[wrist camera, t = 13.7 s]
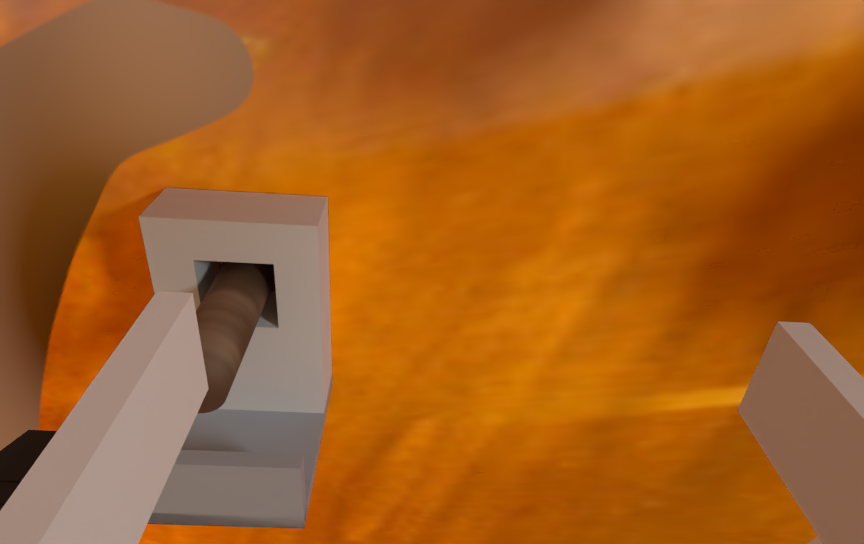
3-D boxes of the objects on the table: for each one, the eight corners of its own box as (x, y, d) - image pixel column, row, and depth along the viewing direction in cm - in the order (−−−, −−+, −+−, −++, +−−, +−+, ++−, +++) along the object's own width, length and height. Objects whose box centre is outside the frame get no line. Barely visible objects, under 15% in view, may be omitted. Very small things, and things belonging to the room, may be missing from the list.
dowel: (226, 237, 46) (151, 360, 33) (278, 240, 47) (223, 363, 34) (232, 281, 48) (163, 412, 36) (281, 283, 49) (230, 414, 36)
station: (165, 187, 44) (60, 298, 31) (327, 196, 45) (289, 309, 32) (199, 378, 54) (128, 523, 41) (332, 383, 54) (304, 528, 41)
